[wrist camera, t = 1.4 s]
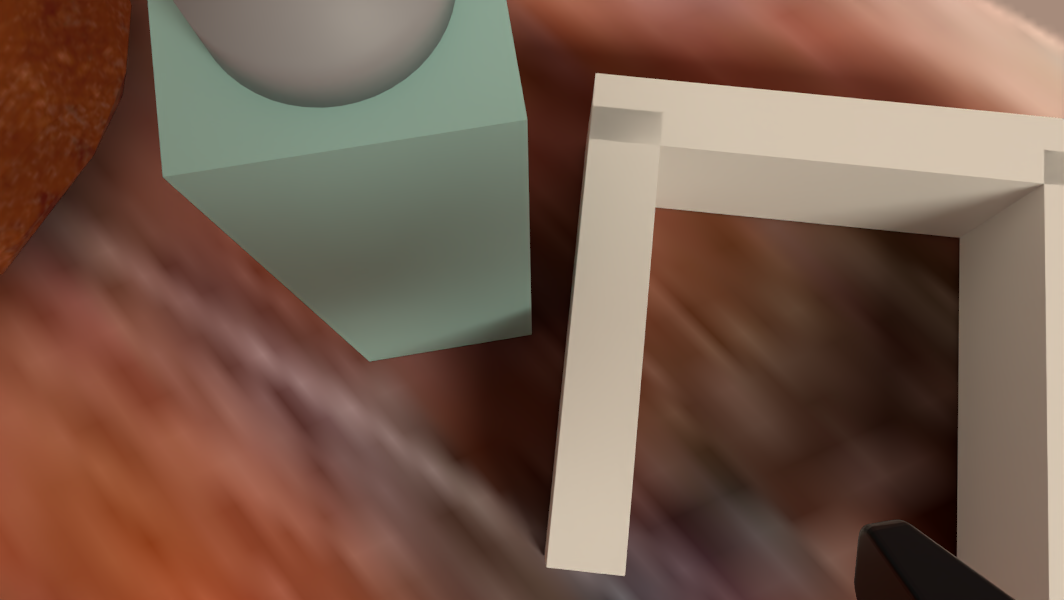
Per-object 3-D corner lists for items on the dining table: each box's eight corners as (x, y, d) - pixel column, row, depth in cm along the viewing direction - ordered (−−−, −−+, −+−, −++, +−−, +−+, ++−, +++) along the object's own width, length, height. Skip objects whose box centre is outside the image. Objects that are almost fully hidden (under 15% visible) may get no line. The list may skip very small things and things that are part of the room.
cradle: (1022, 610, 22) (1130, 632, 18) (544, 557, 22) (546, 567, 18) (1019, 187, 24) (1115, 123, 20) (585, 144, 24) (595, 72, 20)
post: (532, 334, 23) (526, 78, 9) (369, 361, 23) (122, 141, 9) (505, 181, 24) (465, -259, 10) (349, 206, 24) (96, -205, 10)
